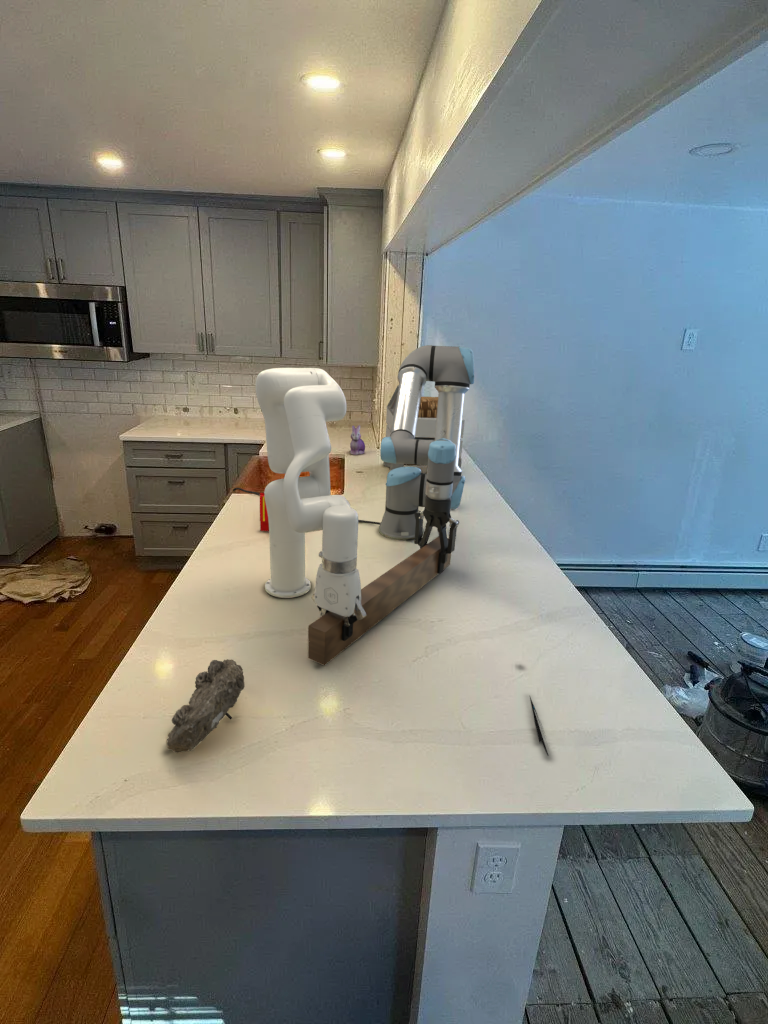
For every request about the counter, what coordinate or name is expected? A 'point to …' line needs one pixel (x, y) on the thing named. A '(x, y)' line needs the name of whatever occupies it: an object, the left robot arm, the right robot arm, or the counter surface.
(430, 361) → the right robot arm
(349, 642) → the post
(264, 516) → the toy
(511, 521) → the counter surface
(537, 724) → the feather
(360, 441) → the figurine
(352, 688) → the counter surface
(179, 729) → the fossil
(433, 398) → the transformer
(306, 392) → the left robot arm
